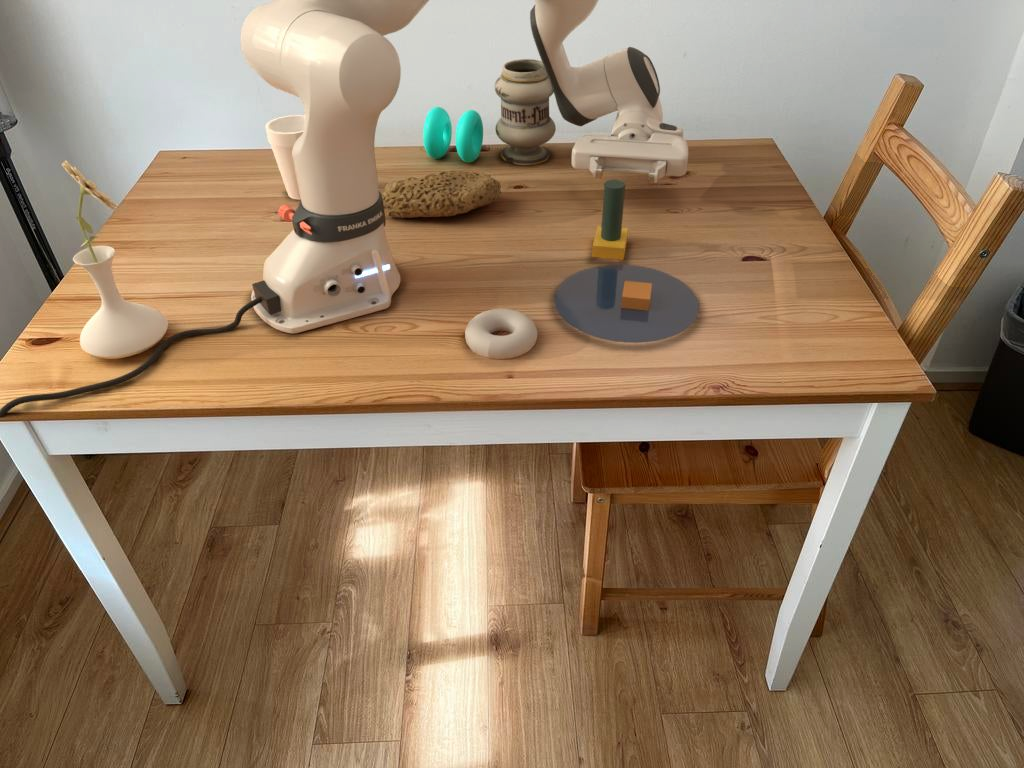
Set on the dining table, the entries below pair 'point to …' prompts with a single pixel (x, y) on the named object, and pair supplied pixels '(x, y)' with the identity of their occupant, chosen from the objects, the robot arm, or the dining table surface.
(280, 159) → the foam cup
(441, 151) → the donuts
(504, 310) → the donut
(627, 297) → the orange block
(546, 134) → the apothecary jar
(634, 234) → the dining table surface
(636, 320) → the plate
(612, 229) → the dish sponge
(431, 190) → the sponge
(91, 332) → the flower in vase
